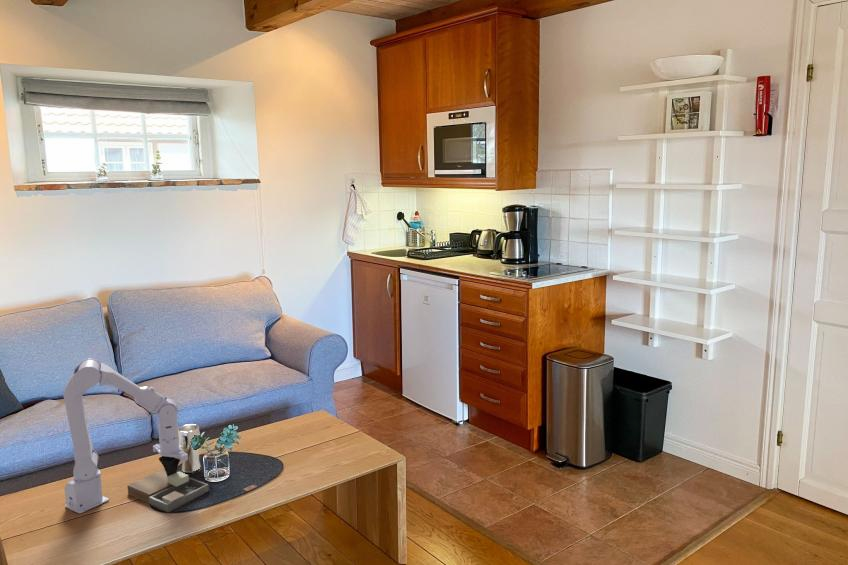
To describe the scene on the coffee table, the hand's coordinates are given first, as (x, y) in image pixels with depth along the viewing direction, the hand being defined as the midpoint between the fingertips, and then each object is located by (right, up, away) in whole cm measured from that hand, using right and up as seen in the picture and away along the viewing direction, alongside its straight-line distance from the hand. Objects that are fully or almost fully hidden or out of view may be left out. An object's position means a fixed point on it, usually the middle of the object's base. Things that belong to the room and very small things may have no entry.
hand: (171, 477), depth 207 cm
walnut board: (-4, -4, 0) cm, 5 cm away
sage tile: (+3, -1, -2) cm, 3 cm away
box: (+5, -5, -6) cm, 9 cm away
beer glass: (+2, -2, +13) cm, 13 cm away
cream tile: (+4, -3, -9) cm, 11 cm away
